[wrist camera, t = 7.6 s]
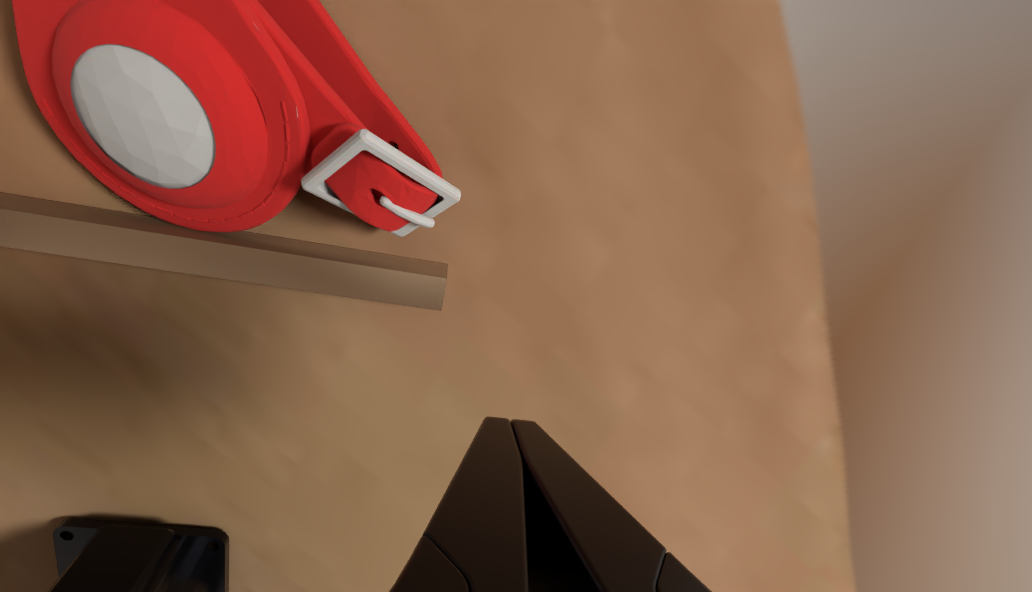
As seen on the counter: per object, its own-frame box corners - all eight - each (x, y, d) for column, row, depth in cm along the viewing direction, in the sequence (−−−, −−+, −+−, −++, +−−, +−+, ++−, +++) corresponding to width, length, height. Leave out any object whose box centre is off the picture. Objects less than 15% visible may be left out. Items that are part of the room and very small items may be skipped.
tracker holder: (82, 256, 17) (-157, -146, 11) (171, 195, 21) (24, -136, 15) (450, 275, 16) (396, -176, 10) (479, 206, 19) (452, -156, 13)
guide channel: (442, 294, 20) (439, 329, 17) (-90, 214, 17) (-196, 240, 14) (514, -143, 15) (526, -192, 12) (-207, -350, 12) (-401, -474, 10)
